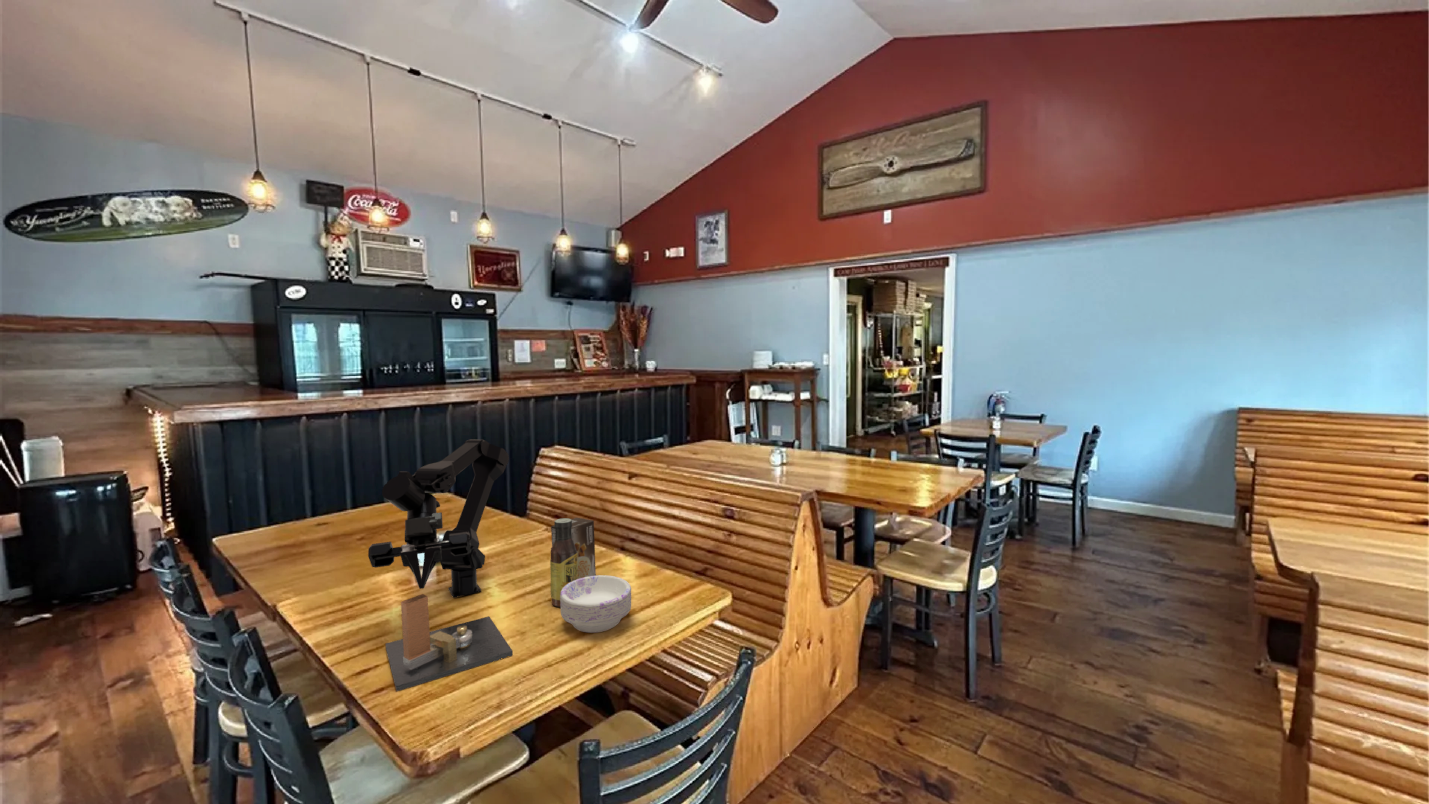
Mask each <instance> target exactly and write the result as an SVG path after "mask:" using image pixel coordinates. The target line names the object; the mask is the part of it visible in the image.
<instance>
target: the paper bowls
mask: <svg viewBox="0 0 1429 804" xmlns="http://www.w3.org/2000/svg"><path fill="white" fill-rule="evenodd" d="M560 602H561V604H560V605H561V607H560V615H561V618H562V620H564V621H565V622H567V623H569V624H571V625H572V626H573V628H574V629H576V630H577V631H579V632H583V633H589V634H590V633H591V634H592V633H601V632H605V631H609V630H611V629H613V628H615V627H616V626H617V625H618V624H619V623H620V622H621V620H622V618H623V619H624V617H626V616H627V615H628V614H629V612H630V611H631V608H632V586H631V584H630V583H629V582H628V581H627V580H626V579H624V578H622V577H618V576H614V575H605V574H604V575H597V574H596V576H589V577H584V578H580V579H577V580H574V581H572V582H570V583H568V584H567V585H566V586H564V587H563V589H562V590H561V593H560Z"/></svg>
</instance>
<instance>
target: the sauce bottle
mask: <svg viewBox="0 0 1429 804" xmlns="http://www.w3.org/2000/svg"><path fill="white" fill-rule="evenodd" d="M571 519H572V518H563V517H562V518H558V519H555V520H554V524H553V525H555V539H556V540H555V542H554V543H553V545H552V544H551V548H550V560H549V561H550V562H549V565H550V566H549V567H550V569H549V570H550V598H551V604H552V606H555V607H559V608H561V605H560V604H561V602H560V593H561V590H562V589H563V587H564V586H566V585H567V584H568V583H570V582H572V581H574V580H577V579H578V565H577V550H576V548H575V545H574V542H573V540H572V534H571V531H572V530H571V527H572V520H571Z"/></svg>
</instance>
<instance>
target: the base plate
mask: <svg viewBox="0 0 1429 804" xmlns="http://www.w3.org/2000/svg"><path fill="white" fill-rule="evenodd" d="M462 625H465V626H467V629H468V630H471V631H472V642H471V643H470V645H469V646H468V647H466V648H463V649H456V653H457V659H455V660H454V661H452V662H450V663H449V662H446V661H444V655H442V656H440V657H438V658H436V659H433V660H431V661H429V662H427V663H425V664H423V665H421V666H418V667H416V668H414V669H412V670H409V669H408V668H406V667H404V662H403V657H404V648H403V638H400V639H397V640H394V641H390V642H386V643H385V651H386V654H387V659H388V663H389V666H390V670H391V675H392V678H393V683H394V687H395V691H396V692H399V691H402V690H407V689H409V688H412V687H416V686H418V685H422V684H425V683H428V682H432V681H435V680H439V679H441V678H444V677H448V676H452V675H454V674H458V673H461V672H464V671H467V670H470V669H473V668H477V667H480V666H483V665H487V664H490V663H493V661H494V662H497V661H499V659H500V660H502V659H501V658H503V659H506V657H507V656H510V657H513V656H514V655H513V654H514V653H513V649H512V648H511V646H510V645H509V643H508V641H506V638H505V637H504V636H503V635H502V633H501V631H500V630H499V628H498V627H497V626H496V624H495V622H494V621H493V619H492V618H491V616H484V617H481V618H477V619H474V620H470V621H466V622H462V623H459V624H458V623H457V624H454V625H451V626H447V627H442V628H438V629H436V630H430V635H433V634H435V633H437V632H439V631H441V632H444V633H446V634H449V635H453V634H454V633H455V632H457V627H459V626H462ZM430 645H431V643H430ZM512 655H513V656H512ZM507 658H508V657H507Z"/></svg>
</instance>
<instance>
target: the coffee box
mask: <svg viewBox="0 0 1429 804" xmlns="http://www.w3.org/2000/svg"><path fill="white" fill-rule="evenodd" d="M570 519H571V520H572V527H571V530H572V531H571V534H572V540H573V542H574V545H575V548H576V550H577V565H578V579H580V578H584V577H589V576H597V572H596V570H597V568H596V550H595V549H596V547H595V520H593V519H586V518H580V517H574V518H570ZM550 529H551V546H552V545H553V543H554V542H555V540H556V539H555V525H554V524H553V525H551V526H550Z"/></svg>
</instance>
